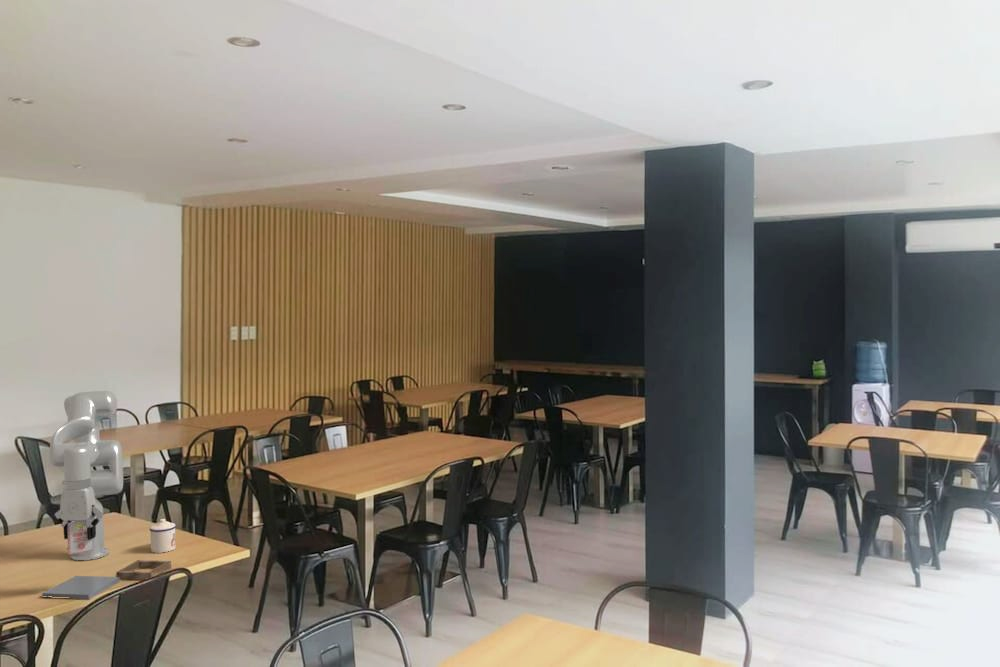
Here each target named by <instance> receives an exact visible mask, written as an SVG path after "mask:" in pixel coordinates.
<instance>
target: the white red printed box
mask: <svg viewBox="0 0 1000 667" xmlns="http://www.w3.org/2000/svg"><path fill="white" fill-rule="evenodd" d="M88 527H89V526H88V524H87V522H86V521H76V522H75V521H71V522H69V523H67V535H68V539H67V547H68V550H67V552H68V555H70V556H71V555H72V554H78V553H84V552H89V551H93V546H92V539H90V540H88V537H87V528H88Z"/></svg>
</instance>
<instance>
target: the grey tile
mask: <svg viewBox="0 0 1000 667" xmlns="http://www.w3.org/2000/svg"><path fill="white" fill-rule="evenodd" d="M119 581H121V580H120V578H119V577H116V576H99V575H98V576H97V575H96V576H93V575H92V576H91V575H75V576H73V577H71V578H69V579H67V580H65V581H63V582H60V583H59V584H57V585H56V586H54V587H51V588H50V589H48V590H46V591H44V592H42V593H41V596H47V597H48V596H52V597H69V598H76V599H75V600H91V599H92V598H94V597H95V596H98V595H99V594H100V593H102V592H105V591H106V590H107V588H108V589H109V588H111V587H112V585H113V586H114V585H116V584H118V583H119ZM117 582H118V583H117ZM115 583H116V584H115ZM110 586H111V587H110ZM105 589H106V590H105Z"/></svg>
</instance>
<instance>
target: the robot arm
mask: <svg viewBox="0 0 1000 667" xmlns="http://www.w3.org/2000/svg"><path fill="white" fill-rule="evenodd" d="M63 406H64V407H63V408H64V411H65V414H66V416H67V421H66V423H64V424H63V425H61V426H59V428H58V429H57V430H56V431H55V432H54V433H53V435H52V436H51V439H50V444H49V452H48V454H49V455H48V457H49V458H48V459H49V463H50V464H51V465H52V466H53V467H55V468H59V467H60V468H61V467H63V472H64V473H63V474H64V475H63V476H64V480H62V482H61V485H63V486H64V488H63V489H62V490H61V495H60V504H59V509H58V510H57V511H56V512H55V513H54V517H55V518H56V519H57V521H58V523H60V524H61V527H62V528H63V539H64V540H68V535H67V523H69V522H76V521H86V522H87V524H88V526H89V527H88V528H87V537H88V540H90V539H92V546H93V551H89V552H84V553H78V554H72V555H70V559H71V560H73V561H78V560H84V561H90V560H91V559H92V560H98V559H100V557H101V558H103V556H104V557H106V556H108V555H109V554H110V548H107V547H105V528H104V527H105V525H104V524H105V523H104V507H103V504H102V503H101V502H100V501H99V499H98V498H96V497H100V496H101V497H102V496H109V495H117V494H120V493H121V492H122V491H123V488H124V466H123V465H124V462H123V459H124V458H123V449H122V444H121V443H120V441H119V440H116V439H104V440H101V439H100V427H99V425H98V424H97V422H96V417H105V416H106V417H107V416H109V417H110V416H113V415H115V413H116V411H117V408H118V400H117V396H116V395H115V394H114V393H113V392H112V391H108V390H97V391H94V390H93V391H82V392H77V393H75V394H73V395H70V396H68V397H66V398H65V399H64V402H63ZM71 441H73V442H71ZM105 466H106V467H109V468H105V469H93V470H92V469H91V468H94V467H105ZM66 550H67V551H68V546H67V547H66ZM107 554H108V555H107ZM92 560H91V561H92Z"/></svg>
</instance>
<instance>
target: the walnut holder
mask: <svg viewBox="0 0 1000 667" xmlns="http://www.w3.org/2000/svg"><path fill="white" fill-rule="evenodd" d="M138 568H139V569H144V568H150V571H139V569H138ZM171 569H172V560H153V559H152V560H150V559H149V560H145V559H138V560H136V561H134V562H132V563H131V564H129V565H127V566H125V567H123V568H121V569H119V570H118V571H116V576H115V577H119V578H120V579H127V580H126V581H129V580H130V581H145V580H144V579H146V578H150V577H153V576H155V575H157V574H160V573H162V572H164V571H166V572H167V571H168V570H171ZM135 570H136V571H135ZM137 570H138V571H137ZM164 573H165V572H164ZM162 574H163V573H162Z"/></svg>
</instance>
